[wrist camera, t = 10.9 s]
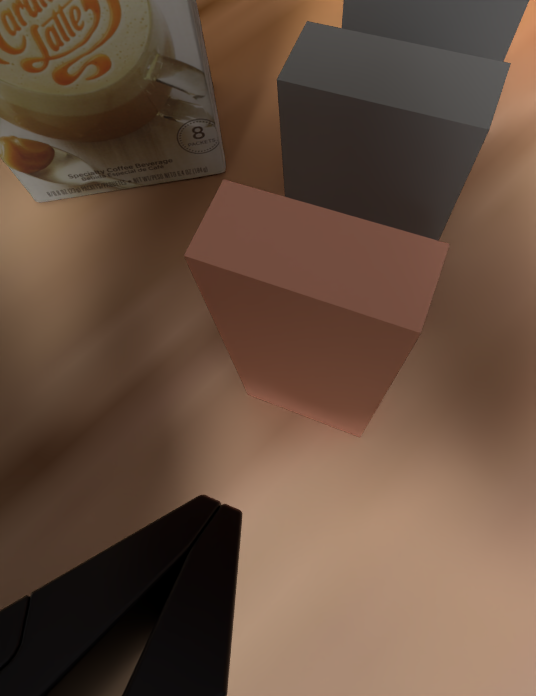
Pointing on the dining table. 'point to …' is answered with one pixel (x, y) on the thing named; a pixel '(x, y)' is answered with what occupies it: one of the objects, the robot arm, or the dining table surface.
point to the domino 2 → (383, 125)
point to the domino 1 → (440, 23)
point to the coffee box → (105, 95)
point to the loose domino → (312, 300)
